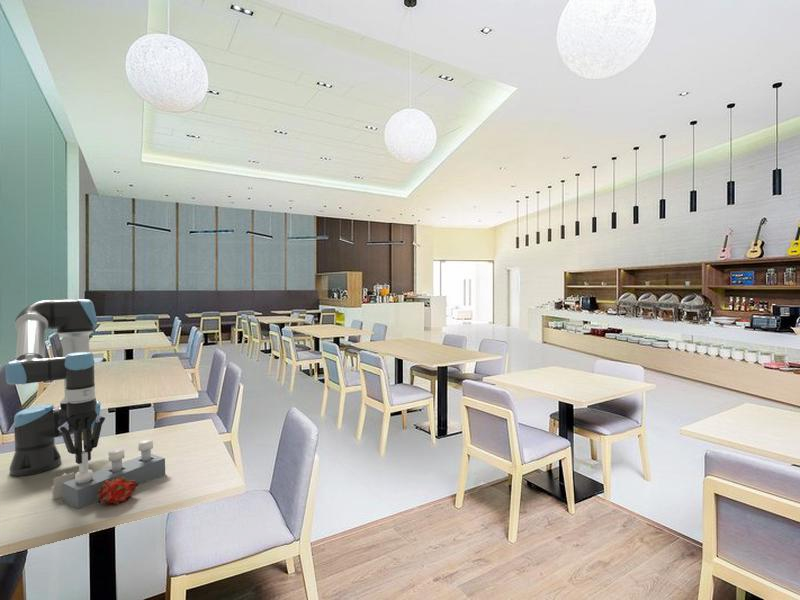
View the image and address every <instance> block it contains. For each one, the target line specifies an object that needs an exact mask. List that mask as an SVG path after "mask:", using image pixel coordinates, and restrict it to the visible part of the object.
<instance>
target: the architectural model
mask: <svg viewBox="0 0 800 600" xmlns="http://www.w3.org/2000/svg"><path fill="white" fill-rule="evenodd" d="M72 479H75V472H74V471H73V472H70V473H66V472H64V473H63V474H62V475H60V476H57V477H53V482H52V484H51V486H50V487H51V498H52V499H53V500H57V499H59V498H63V483H64V482H67V481H70V480H72Z"/></svg>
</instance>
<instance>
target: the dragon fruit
mask: <svg viewBox="0 0 800 600" xmlns="http://www.w3.org/2000/svg"><path fill="white" fill-rule="evenodd" d="M105 482H106V484H103V485H101V487H100V488H99V489H98V490H97V495H96V496H97V498H100V499H101V500H99V501H98V504H107V505H112V504H114V505H119V503H120V502H123V501H126V502H127V501H128V500H130V499H131V498H132V494H133V493H134V492H135V490H136V489H137V488H138V486H139V485H138V483H137V482H136V481H135V480H125V478H124V477H121V478H120V479H117V478H115V479H113V480H111V481H105ZM136 483H137V484H136Z"/></svg>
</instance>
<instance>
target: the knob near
mask: <svg viewBox="0 0 800 600" xmlns="http://www.w3.org/2000/svg"><path fill="white" fill-rule="evenodd" d="M93 472H94V471H93V469H88V472H87V473H84V474H83V473H81V472H79V471H76V473H74V479H75V483H79V485H82V484H85V483H88V482H90V480H92V479H93Z"/></svg>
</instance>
